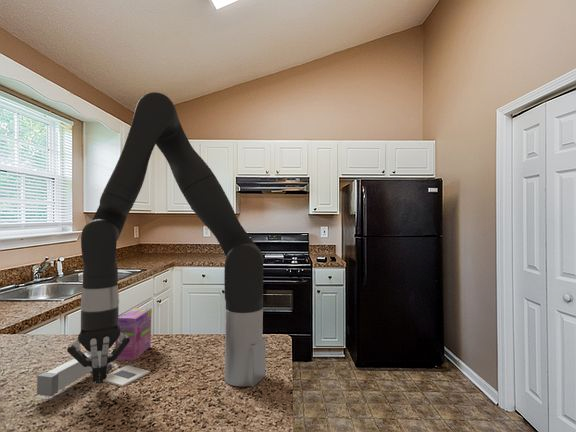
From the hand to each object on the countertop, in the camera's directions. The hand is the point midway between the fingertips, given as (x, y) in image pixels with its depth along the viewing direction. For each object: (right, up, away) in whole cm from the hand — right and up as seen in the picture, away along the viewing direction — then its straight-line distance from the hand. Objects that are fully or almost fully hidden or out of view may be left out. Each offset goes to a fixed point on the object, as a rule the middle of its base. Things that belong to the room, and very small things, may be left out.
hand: (99, 381), depth 74 cm
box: (-2, -2, +21) cm, 21 cm away
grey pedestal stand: (-5, -2, +10) cm, 12 cm away
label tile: (+3, -2, +6) cm, 7 cm away
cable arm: (-7, 0, +3) cm, 8 cm away
